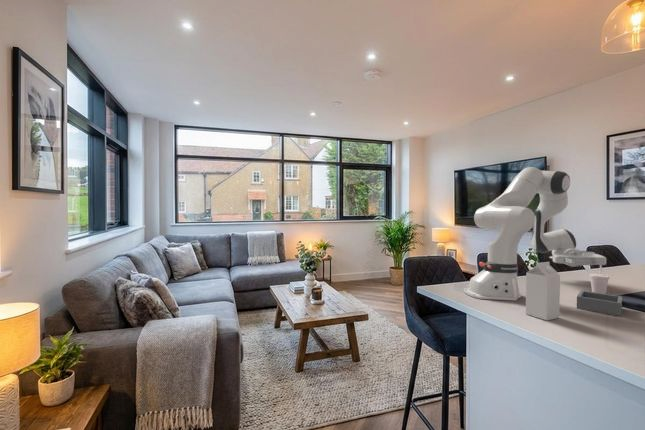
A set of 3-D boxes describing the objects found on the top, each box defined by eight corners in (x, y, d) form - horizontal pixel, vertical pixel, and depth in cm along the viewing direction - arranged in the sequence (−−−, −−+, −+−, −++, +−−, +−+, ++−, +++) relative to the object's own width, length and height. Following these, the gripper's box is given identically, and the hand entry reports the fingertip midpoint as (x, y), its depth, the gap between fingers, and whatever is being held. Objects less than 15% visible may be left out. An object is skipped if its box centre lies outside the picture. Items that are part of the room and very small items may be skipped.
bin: (620, 316, 108) (620, 303, 108) (576, 308, 116) (576, 296, 116) (621, 308, 116) (622, 296, 116) (580, 301, 125) (580, 290, 124)
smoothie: (613, 300, 125) (613, 266, 125) (595, 299, 127) (595, 266, 126) (602, 296, 132) (602, 264, 131) (585, 295, 133) (585, 263, 133)
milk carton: (525, 314, 109) (526, 261, 109) (538, 311, 112) (538, 260, 112) (546, 321, 103) (547, 265, 102) (559, 318, 106) (560, 263, 105)
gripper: (547, 250, 157) (558, 254, 144) (597, 251, 150) (613, 256, 137) (547, 262, 157) (558, 267, 144) (596, 264, 150) (613, 270, 137)
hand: (585, 262), depth 141 cm, fingers open, 8 cm apart
